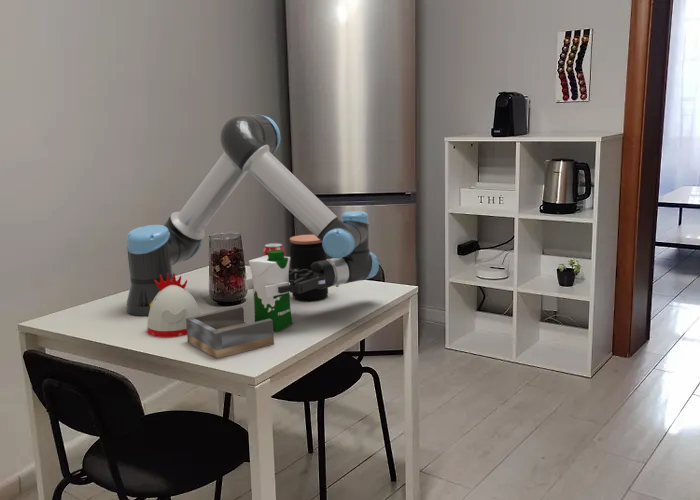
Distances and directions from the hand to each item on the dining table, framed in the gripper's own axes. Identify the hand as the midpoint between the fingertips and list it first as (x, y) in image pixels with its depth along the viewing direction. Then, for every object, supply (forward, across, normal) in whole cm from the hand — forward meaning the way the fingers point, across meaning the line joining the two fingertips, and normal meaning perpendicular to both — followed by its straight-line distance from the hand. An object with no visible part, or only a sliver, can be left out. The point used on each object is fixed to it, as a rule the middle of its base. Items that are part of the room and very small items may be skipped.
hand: (255, 288), depth 174 cm
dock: (+10, -4, -11) cm, 15 cm away
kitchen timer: (+16, +16, -11) cm, 25 cm away
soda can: (-30, +42, -11) cm, 53 cm away
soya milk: (-4, 0, -11) cm, 12 cm away
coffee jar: (-27, +17, -11) cm, 34 cm away
